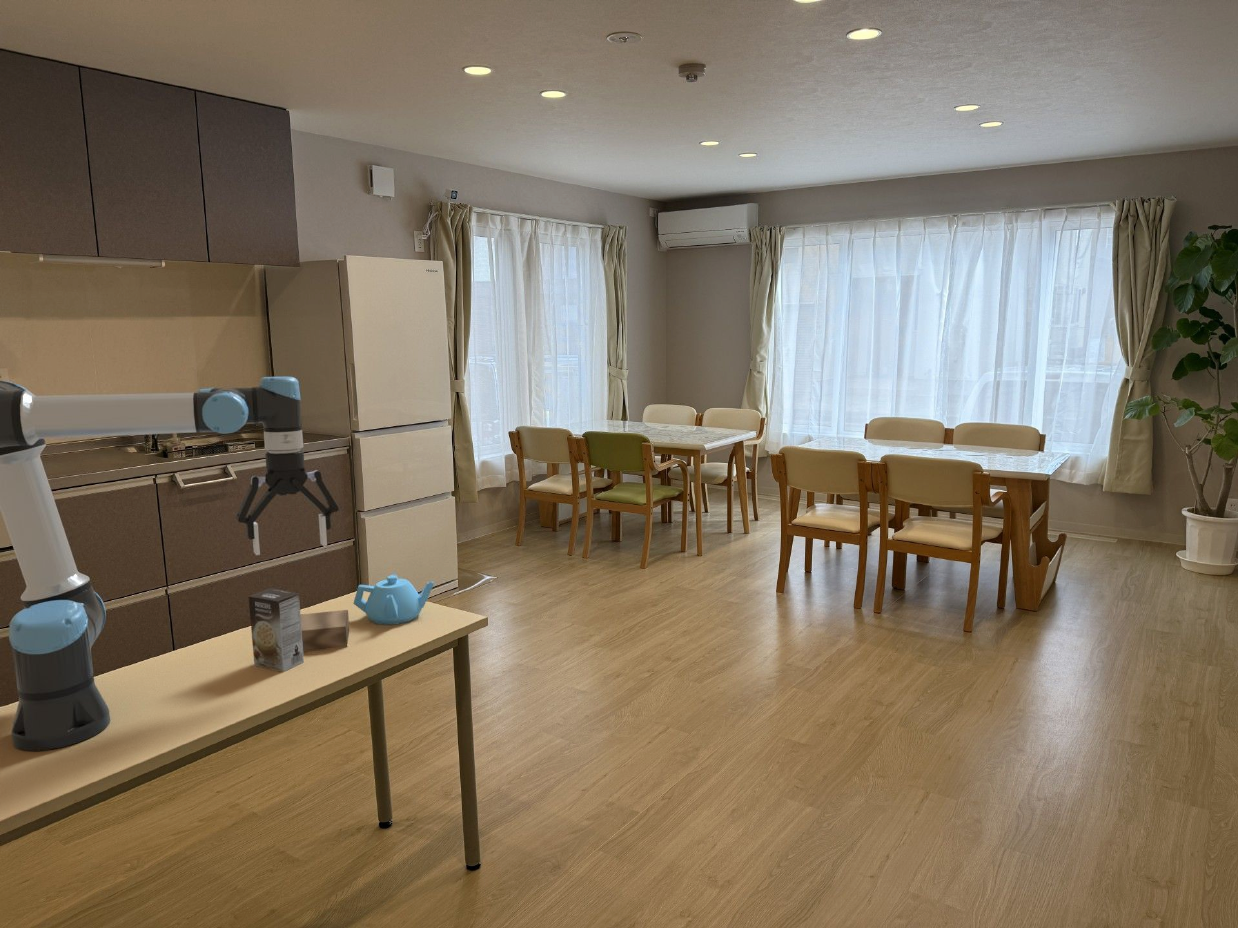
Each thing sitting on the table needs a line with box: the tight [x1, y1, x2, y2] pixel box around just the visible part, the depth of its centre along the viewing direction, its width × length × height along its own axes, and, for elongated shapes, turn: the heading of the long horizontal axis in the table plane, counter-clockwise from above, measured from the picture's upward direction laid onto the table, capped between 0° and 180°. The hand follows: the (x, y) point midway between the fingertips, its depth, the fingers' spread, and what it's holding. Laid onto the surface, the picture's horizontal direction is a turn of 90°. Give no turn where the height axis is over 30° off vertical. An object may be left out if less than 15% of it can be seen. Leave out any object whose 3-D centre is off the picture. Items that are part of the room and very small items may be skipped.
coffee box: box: [248, 587, 305, 673], centre depth 185 cm, size 9×6×16 cm
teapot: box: [352, 573, 434, 626], centre depth 214 cm, size 15×15×11 cm
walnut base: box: [300, 609, 350, 653], centre depth 199 cm, size 12×12×5 cm
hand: (291, 549), depth 180 cm, fingers open, 13 cm apart
